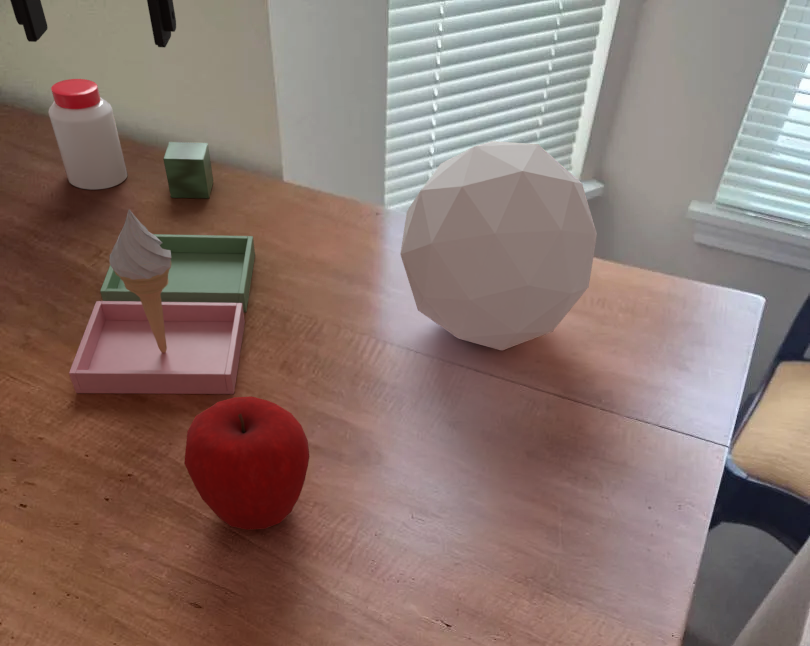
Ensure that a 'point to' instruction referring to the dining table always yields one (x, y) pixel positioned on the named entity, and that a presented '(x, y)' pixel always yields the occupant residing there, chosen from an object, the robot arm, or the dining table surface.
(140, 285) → the ice cream cone
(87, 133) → the pill bottle
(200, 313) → the pink tray
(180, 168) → the green block
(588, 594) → the dining table surface
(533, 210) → the ball
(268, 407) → the apple
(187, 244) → the green tray
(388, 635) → the dining table surface
